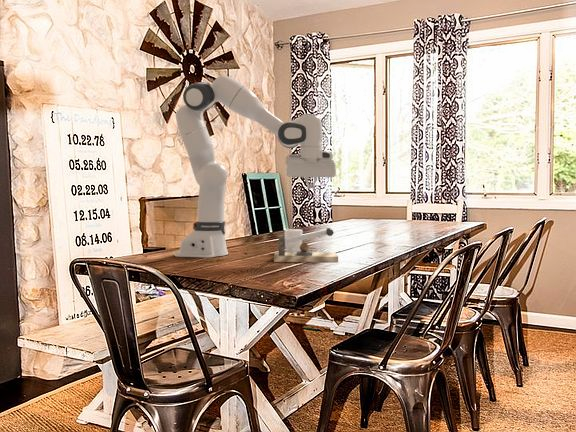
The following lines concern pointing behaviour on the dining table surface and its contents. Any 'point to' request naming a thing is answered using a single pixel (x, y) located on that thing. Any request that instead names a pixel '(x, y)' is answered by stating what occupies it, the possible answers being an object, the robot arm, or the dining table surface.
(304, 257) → the nutcracker base
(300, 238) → the lever
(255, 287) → the dining table surface
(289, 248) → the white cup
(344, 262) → the dining table surface
